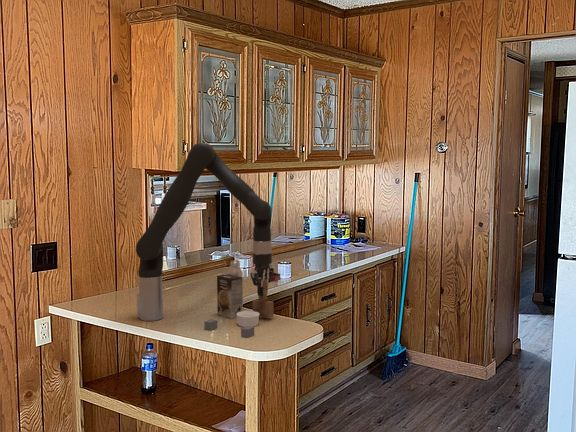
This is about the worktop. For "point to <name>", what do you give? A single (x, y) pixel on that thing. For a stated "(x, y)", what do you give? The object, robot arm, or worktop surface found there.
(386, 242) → the worktop surface
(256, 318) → the ramekin
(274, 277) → the red and clear container
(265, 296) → the stepped wooden block
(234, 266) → the plastic bottle
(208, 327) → the slate blocks
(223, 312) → the coffee box
